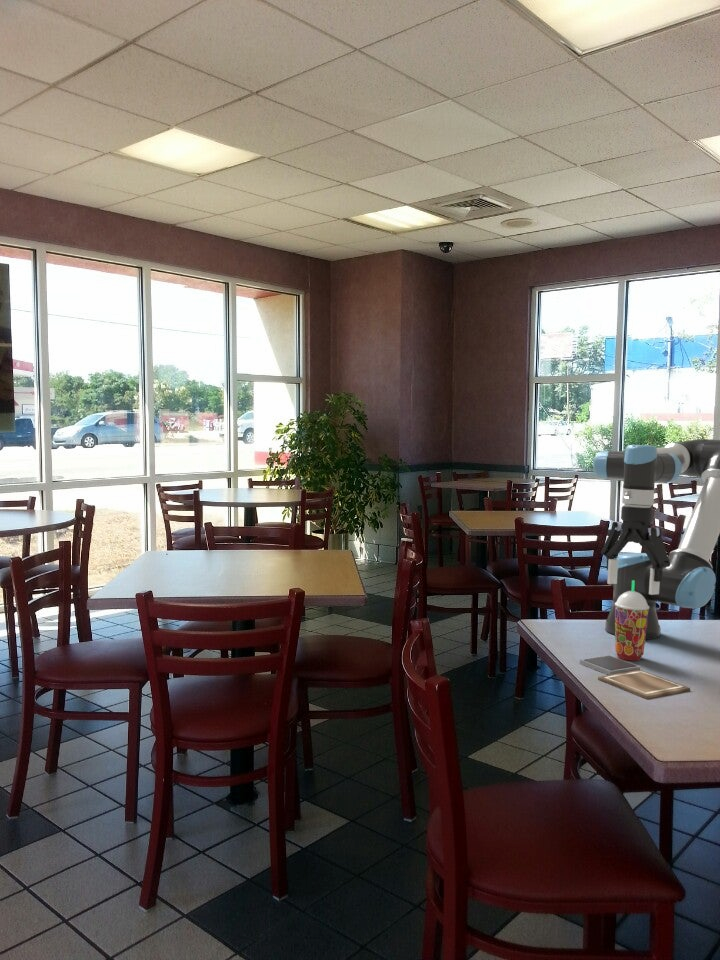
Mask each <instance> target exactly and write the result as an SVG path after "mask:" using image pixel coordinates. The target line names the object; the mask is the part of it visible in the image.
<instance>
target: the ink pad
mask: <svg viewBox="0 0 720 960" xmlns="http://www.w3.org/2000/svg"><path fill="white" fill-rule="evenodd" d="M579 664H580V665H582V666H584V667H587V668H590V669H591V670H592V669H593V670H595V671H598V672H600V673H602V674H605V675H613V674H619V673H625V672H631V671H637V670H641V666H640V665H637V664H635V663H632V662H630V661H628V660H626V661H625V660H624V659H621V658H619V657H618V658H617V657H615V656H613V655H608V654H607V655H602V656H596V657H589V658H582V659H579Z"/></svg>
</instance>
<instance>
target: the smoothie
mask: <svg viewBox="0 0 720 960" xmlns="http://www.w3.org/2000/svg"><path fill="white" fill-rule="evenodd" d="M634 585H635V581H634V580H632V589H631V591H627V592H624V593H623V594H621V595H620V596H619V598H618V599H617V601H616V602H615V635H614V636H615V637H614V638H615V639H614V642H615V644H614V645H615V648H614V649H615V650H614V652H616V655H617V657H618V659H621V660H624V661H625V660H626V661H629V662H630V661H631V662H632V661H635V662H636V661H640V660H641V659H642V656H643V655H644V652H645V645H646V639H645V637H646V629H647V621H648V613H649V605H648V604H647V601H646V599H645V598H644V596H643V595H641V594H640V593H638V592H636V591H634Z"/></svg>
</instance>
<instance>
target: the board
mask: <svg viewBox="0 0 720 960" xmlns="http://www.w3.org/2000/svg"><path fill="white" fill-rule="evenodd" d="M597 680H598V681H600V682H603V683H606V684H608V685H610V686H612V687H613V686H614V687H616V688H618V689H620V690H623V691H626V692H628V693H630V694H633V695H635V696H638V697H641V698H643V699H646V700H647V699H652V698H654V699H655V698H658V697H663V696H669V695H673V694H677V693H679V694H680V693H684V692H688V691H691V687H689V686H686V685H684V684H681V683H678V682H676V681H673V680H670V679H668V678H665V677H662V676H660V675H657V674H656V675H655V674H653V673H650V672H648V671H646V670H642V669H640V670H637V671H631V672H625V673H619V674H613V675H608V674H606V675H603V676H598V677H597Z"/></svg>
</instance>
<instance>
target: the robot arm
mask: <svg viewBox="0 0 720 960" xmlns="http://www.w3.org/2000/svg"><path fill="white" fill-rule="evenodd" d="M592 465H593V472H594V474H595V475H596V476H597V477H599V478H601V479H602V478H604V479H612V480H615V479H616V480H623V485H622V498H621V502H622V507H621V511H620V512H621V513H620V518H621V519H620V520H621V521H612V523H611V528H610V532H609V534H608V536H607V539H605V542H604V545H603V547H602V548H601V551H600V554H601V556H604V557H605V558H606V571H607V581H606V582H607V584H608V585H613V593H612V594H613V597H612V605H611V607H610V609H609V613H608V615H607V619H606V620H605V627H604V630H605V632H607V633H609V634H612V635H614V636H615V602H616V601H617V599H618V598H619V596H620V595H621V594H623V593H624V592H627V591H631V589H632V580H634V581H635V585H634V591H636V592H638V593H640V594H641V595H643V596H644V598H645V599H646V601H647V604H648V605H649V613H648V621H647V629H646V637H645V640H651V639H657V638H659V637H660V636H661V629H662V628H661V626H660V624H659V622H660V621H659V619H658V614H657V610H656V603H657V602H658V603H663V604H667V605H671V606H677V607H680V608H683V609H694V610H695V609H700V608H702V607H704V606H705V605H707V604H708V603H709V601H710V600H711V599H712V596H713V595H714V592H715V589H716V585H715V584H716V582H717V578H716V574H715V572H714V570H713V565H712V563H711V562H710V559H711V556H712V554H713V553H714V552H713V551H714V549H715V546H716V544H717V541H718V538H719V536H720V439H706V438H704V439H703V438H698V439H690V440H686V441H685V440H684V441H678V442H672V443H668V444H667V445H665V446H664V447H656V446H654V445H644V444H643V445H641V444H629V445H627V446H626V447H625V450H618V451H617V450H615V451H614V450H601V451H599V452H597V453H596V455H594V458H593V464H592ZM680 475H681V476H688V477H694V478H701V479H702V481H703V485H702V487H701V489H700V493H699V495H698V497H697V500H696V503H695V505H694V508H693V510H692V512H691V515H690V516H689V521H688V523H687V525H686V527H685V530H684V532H683V535H682V536H681V537H682V538H681V540H680V542H679V544H678V548H677V549H674V550H672V551H670V552H669V554H668V552H667V549H666V546H665V543H664V540H663V537H662V528H661V527H651V524H652V522H653V515H654V514H653V513H654V509H653V507H652V506H654V502H655V501H654V500H655V485H656V483H669V482H670V483H671V482H673V481H675V480H677V479H678V478H679V477H680ZM632 542H633V543H635V544H639V545H640V546H641V547H642V549H643V551H644V552H636V553H634V552H633V553H631V552H630V553H622V554H620V552H622V550H623V549H624V548H625V546H626V545H628V543H632Z"/></svg>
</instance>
